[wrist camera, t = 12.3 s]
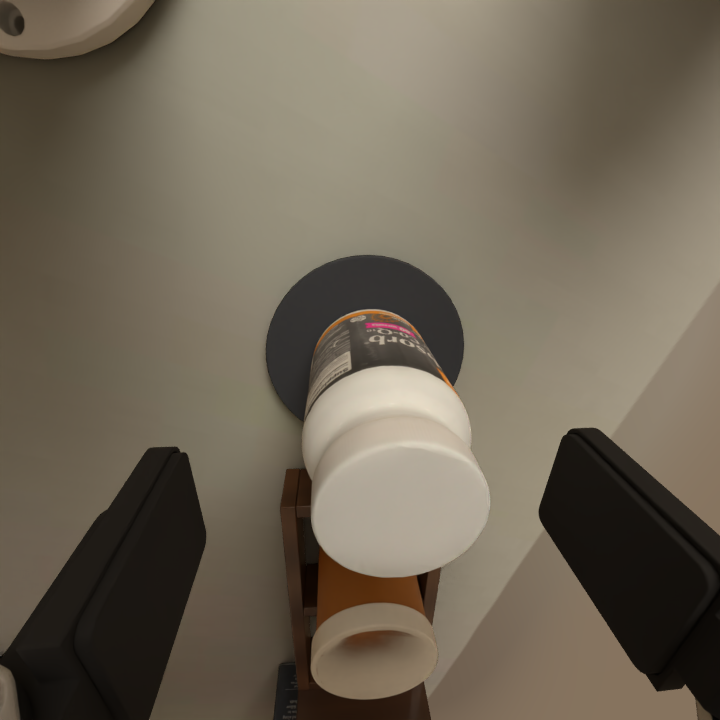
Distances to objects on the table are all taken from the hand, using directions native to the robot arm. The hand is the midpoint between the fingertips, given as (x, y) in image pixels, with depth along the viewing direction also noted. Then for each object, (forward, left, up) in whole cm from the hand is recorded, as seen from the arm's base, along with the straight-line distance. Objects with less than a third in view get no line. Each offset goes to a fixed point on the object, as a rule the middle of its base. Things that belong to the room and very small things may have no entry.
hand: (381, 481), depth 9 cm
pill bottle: (+1, +1, -10) cm, 10 cm away
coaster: (+1, +1, -10) cm, 10 cm away
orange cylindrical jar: (+13, +1, -10) cm, 16 cm away
